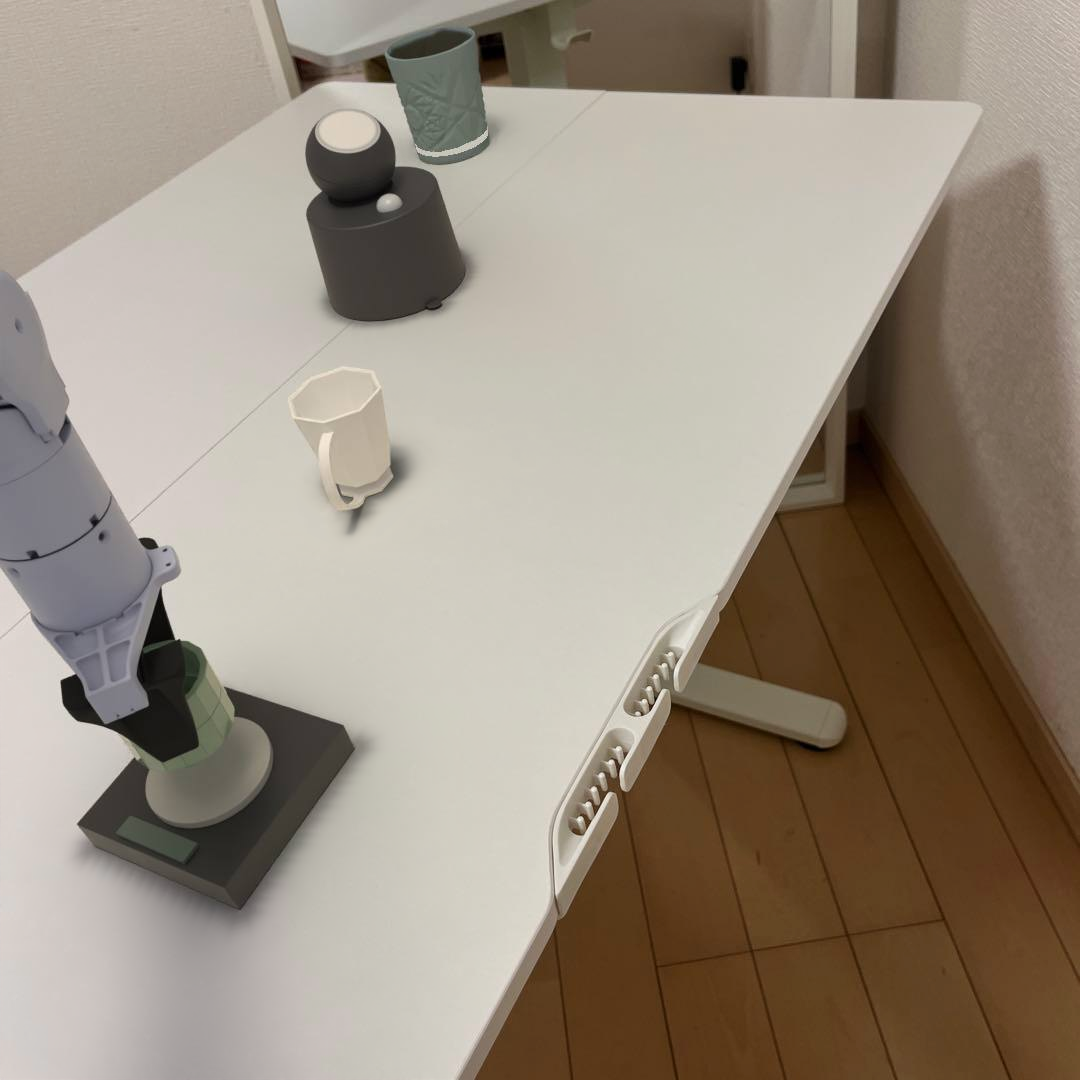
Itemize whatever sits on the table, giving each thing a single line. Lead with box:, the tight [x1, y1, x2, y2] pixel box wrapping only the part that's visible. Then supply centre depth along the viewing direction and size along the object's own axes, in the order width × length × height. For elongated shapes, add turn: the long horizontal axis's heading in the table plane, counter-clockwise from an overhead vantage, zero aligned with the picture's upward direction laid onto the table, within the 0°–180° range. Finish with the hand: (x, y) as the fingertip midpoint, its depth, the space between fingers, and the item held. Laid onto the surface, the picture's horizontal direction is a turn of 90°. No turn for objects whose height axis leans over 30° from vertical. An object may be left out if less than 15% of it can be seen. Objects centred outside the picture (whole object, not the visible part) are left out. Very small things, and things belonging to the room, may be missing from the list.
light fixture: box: [304, 108, 466, 322], centre depth 101 cm, size 13×16×14 cm
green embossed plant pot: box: [384, 25, 490, 165], centre depth 125 cm, size 10×10×12 cm
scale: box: [76, 685, 355, 910], centre depth 63 cm, size 11×11×3 cm
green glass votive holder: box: [117, 639, 235, 771], centre depth 58 cm, size 6×6×4 cm
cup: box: [287, 365, 394, 511], centre depth 80 cm, size 7×10×8 cm
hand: (171, 709), depth 58 cm, fingers closed on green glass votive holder, 6 cm apart
